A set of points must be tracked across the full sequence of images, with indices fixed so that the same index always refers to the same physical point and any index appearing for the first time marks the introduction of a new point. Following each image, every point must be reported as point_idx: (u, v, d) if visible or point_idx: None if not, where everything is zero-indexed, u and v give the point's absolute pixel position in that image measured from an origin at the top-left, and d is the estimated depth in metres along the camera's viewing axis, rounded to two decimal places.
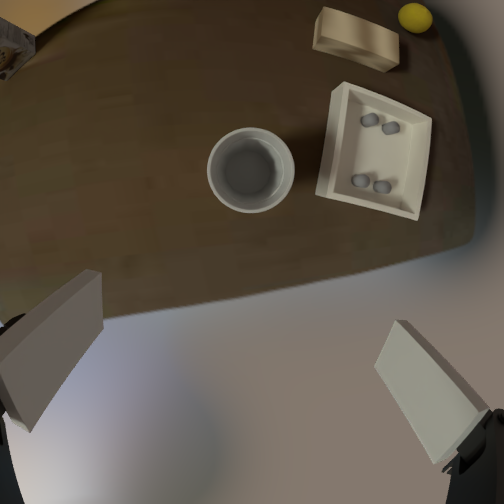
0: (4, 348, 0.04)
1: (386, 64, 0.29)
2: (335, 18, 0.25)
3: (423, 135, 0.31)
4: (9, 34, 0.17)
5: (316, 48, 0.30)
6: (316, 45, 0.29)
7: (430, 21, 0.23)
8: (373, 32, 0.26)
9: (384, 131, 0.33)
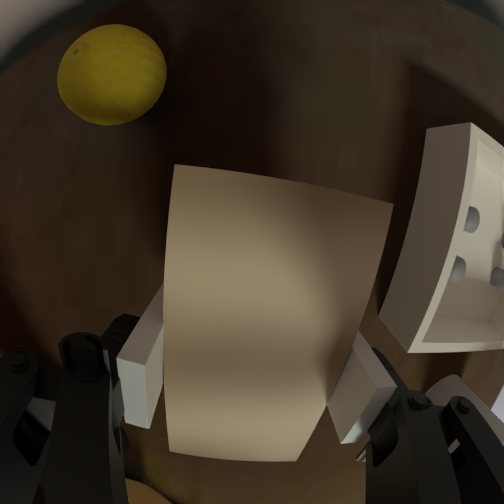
0: (142, 348, 0.06)
1: None
2: (212, 439, 0.09)
3: (488, 153, 0.12)
4: None
5: None
6: None
7: (121, 31, 0.08)
8: (229, 328, 0.08)
9: None
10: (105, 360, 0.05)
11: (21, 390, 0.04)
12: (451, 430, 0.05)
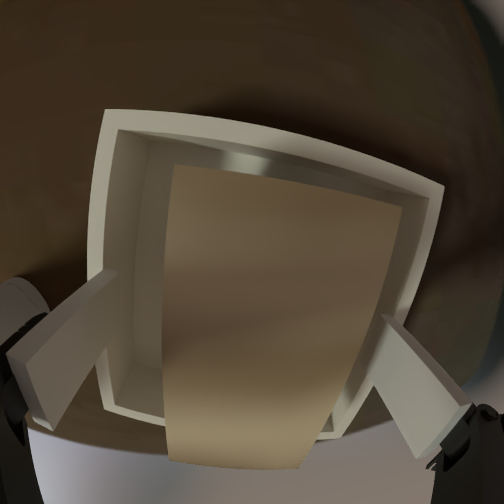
0: (31, 347, 0.05)
1: None
2: (212, 449, 0.09)
3: (407, 240, 0.11)
4: None
5: None
6: None
7: None
8: (232, 337, 0.07)
9: None
10: None
11: None
12: None
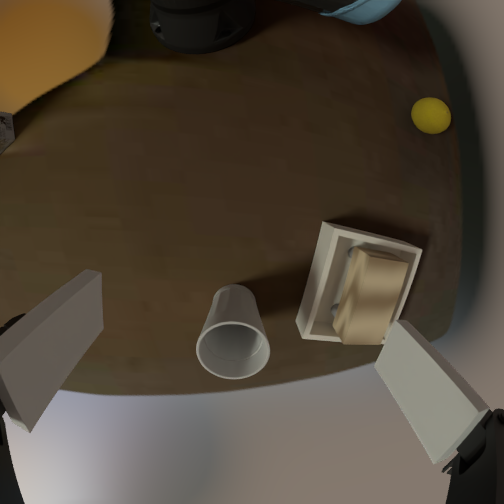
0: (4, 348, 0.04)
1: None
2: (359, 333, 0.33)
3: (409, 266, 0.35)
4: None
5: None
6: None
7: (447, 125, 0.27)
8: (374, 292, 0.31)
9: None
10: None
11: None
12: None
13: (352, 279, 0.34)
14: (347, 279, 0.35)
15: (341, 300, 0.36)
